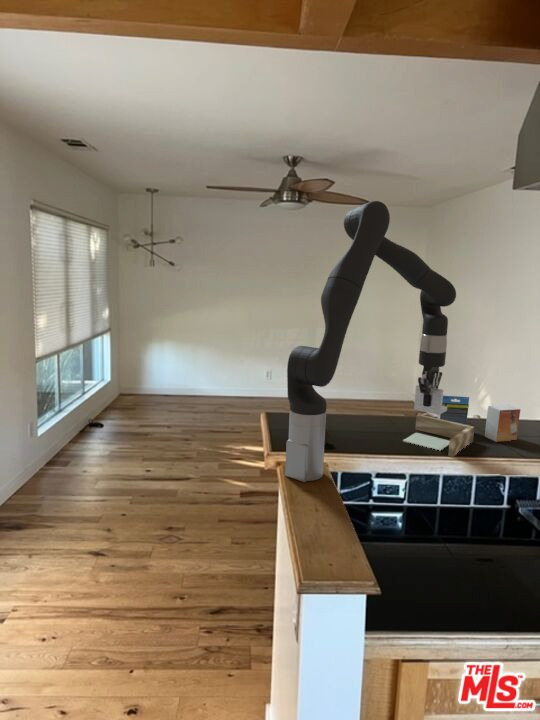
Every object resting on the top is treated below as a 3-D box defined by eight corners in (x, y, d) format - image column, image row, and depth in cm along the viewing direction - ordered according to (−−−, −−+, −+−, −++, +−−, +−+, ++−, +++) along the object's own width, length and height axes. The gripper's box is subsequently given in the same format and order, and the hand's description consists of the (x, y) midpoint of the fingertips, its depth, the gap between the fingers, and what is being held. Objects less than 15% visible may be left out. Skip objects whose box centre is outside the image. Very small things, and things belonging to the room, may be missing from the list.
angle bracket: (414, 409, 156) (416, 385, 154) (422, 405, 160) (424, 382, 159) (439, 414, 151) (441, 390, 149) (446, 410, 155) (449, 386, 154)
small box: (495, 442, 159) (499, 410, 157) (483, 436, 164) (487, 405, 162) (517, 440, 161) (521, 409, 159) (504, 435, 166) (508, 404, 164)
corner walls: (452, 457, 146) (454, 440, 145) (393, 441, 157) (395, 426, 156) (472, 441, 159) (474, 426, 158) (417, 428, 170) (418, 414, 169)
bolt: (307, 434, 167) (323, 449, 153) (295, 427, 166) (309, 441, 152) (316, 419, 167) (332, 432, 153) (304, 412, 166) (319, 425, 151)
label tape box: (462, 428, 171) (466, 393, 169) (465, 432, 167) (469, 397, 165) (435, 427, 172) (439, 392, 170) (438, 431, 168) (442, 395, 166)
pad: (440, 451, 150) (440, 450, 150) (402, 441, 157) (402, 440, 157) (452, 442, 157) (452, 441, 157) (416, 433, 165) (416, 432, 165)
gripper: (429, 345, 158) (424, 398, 161) (411, 350, 147) (406, 407, 151) (453, 348, 153) (448, 403, 156) (436, 354, 143) (431, 413, 146)
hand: (427, 405), depth 153 cm, fingers closed on angle bracket, 1 cm apart
